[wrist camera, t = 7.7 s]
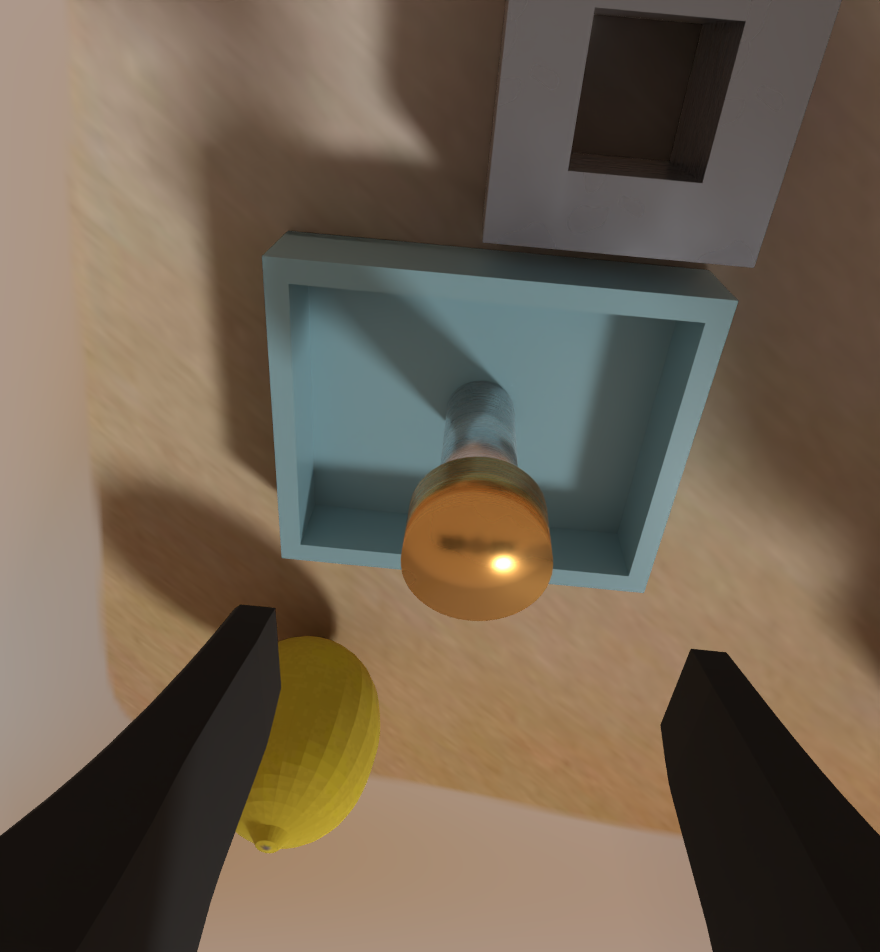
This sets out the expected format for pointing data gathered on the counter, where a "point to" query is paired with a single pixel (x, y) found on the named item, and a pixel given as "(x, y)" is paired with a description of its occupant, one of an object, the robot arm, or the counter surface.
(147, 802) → the robot arm
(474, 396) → the lock pin
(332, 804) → the lemon
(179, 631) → the counter surface
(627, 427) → the tray
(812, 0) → the dark disc and block
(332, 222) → the counter surface
